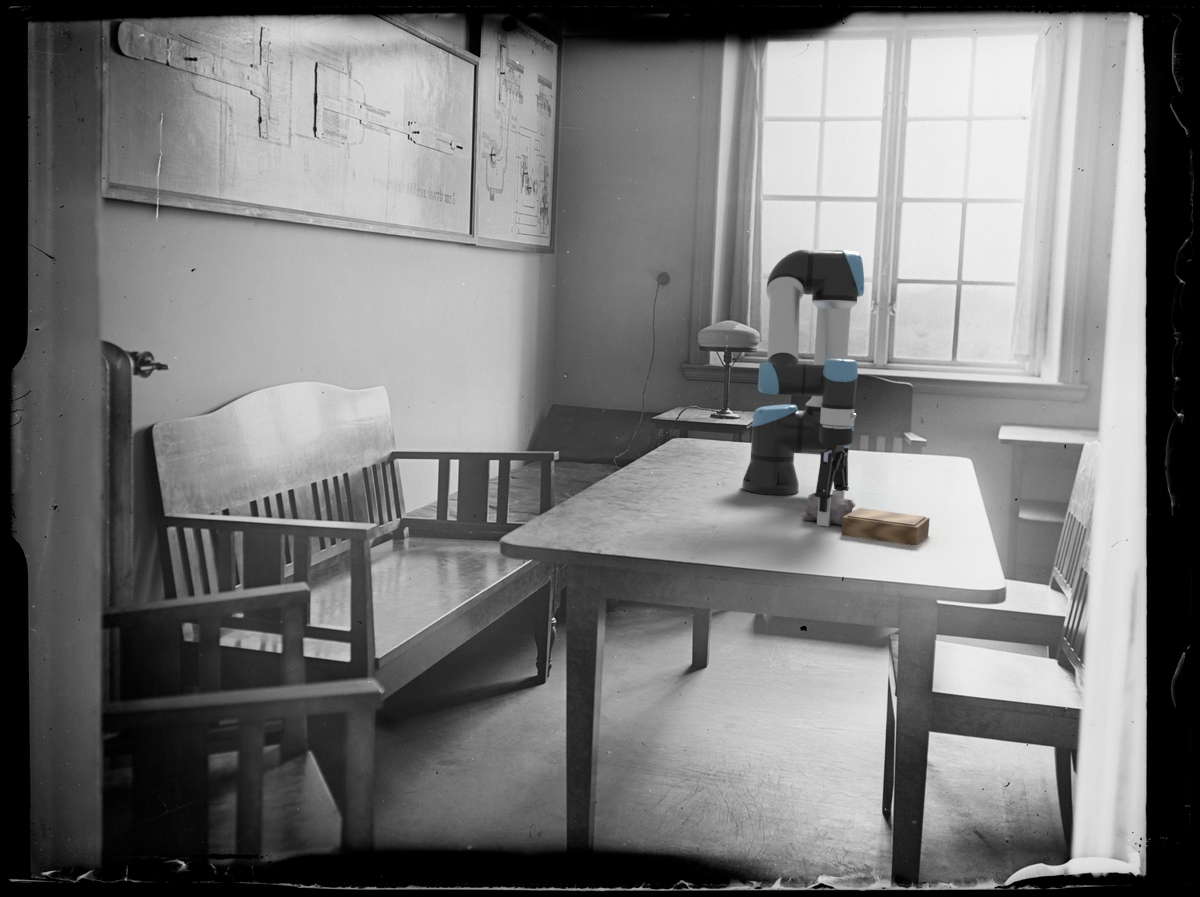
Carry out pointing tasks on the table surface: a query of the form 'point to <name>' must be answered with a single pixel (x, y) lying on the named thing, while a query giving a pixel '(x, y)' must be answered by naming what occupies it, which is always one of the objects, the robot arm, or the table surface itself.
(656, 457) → the table surface
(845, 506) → the stone
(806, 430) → the robot arm
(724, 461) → the table surface
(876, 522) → the walnut slab
